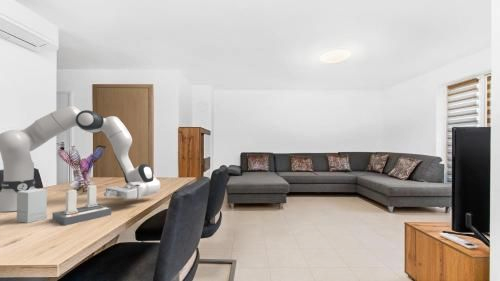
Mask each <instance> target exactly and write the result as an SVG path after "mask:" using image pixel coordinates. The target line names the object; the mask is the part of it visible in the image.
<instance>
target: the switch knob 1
mask: <svg viewBox="0 0 500 281" xmlns="http://www.w3.org/2000/svg"><path fill="white" fill-rule="evenodd" d="M77 192H78V191H77V190H76V189H72V190H71V189H70V190H65V210H66V211H64V210H63V211H64V214H72V213H77V212H78V210H76V208H77V199H78V198H77V197H78V195H77Z"/></svg>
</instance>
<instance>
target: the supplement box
mask: <svg viewBox="0 0 500 281" xmlns="http://www.w3.org/2000/svg"><path fill="white" fill-rule="evenodd" d="M47 204H48V189H43V188H42V189H40V188H37V189H31V190H25V191H19V192H17V211H16V222H18V223H19V222H20V223H26V224H28V223H29V224H30V223H33V222H37V221H40V220H43V219H44V220H45V219H47V216H48V215H47V213H48V210H47V207H48V205H47Z"/></svg>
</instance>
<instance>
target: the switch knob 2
mask: <svg viewBox="0 0 500 281" xmlns="http://www.w3.org/2000/svg"><path fill="white" fill-rule="evenodd" d="M97 189H98V188H97V185H95V184H94V185H87V188H86V204H85V206H86V207H93V206H97V204H98V203H97Z"/></svg>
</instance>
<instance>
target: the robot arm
mask: <svg viewBox="0 0 500 281" xmlns="http://www.w3.org/2000/svg"><path fill="white" fill-rule="evenodd" d="M74 127H79V128H80V129H81V130H83V131H85V132H86V133H92V134H98V133H101V132H103V134H105V136H106V138H107V139H108V141H109V143H110V145H111V147H112V149H113V153H114V156H115V159H116V161H117V163H118V165H119V167H120V169H121V172H122V173H123V177H124V182H125V183H126V184H125V185H124V186H122V185H114V186H107V187H106V188H105V191H104V192H103V196H104V197H117V198H121V199H124V200H133V199H136V200H137V199H141V198H142V197H148V196H152V195H155V194H157V193H158V192H159V191H160V189H161V181H160V180H159V179H158V178H157V177H156V176H155V174H154V171H153V168H152V167H151V166H150V165H149V164H147V163H142V164H140V165H138V166H136V167H135V168H134V166H133V164H132V163H133V162H132V161H131V159H130V156H129V151H130V148H131V146H132V144H133V138H132V135H131V133H130V132H129V130H128V128H127V127H126V126H125V124H124V123H123V122H122V121H121V119H120V118H119V117H118V116H116V115H115V116H113V115H112V116H111V115H110V116H107V117H103V115H100V114H99V113H98V112H95V111H92V110H88V109H87V110H86V109H85V110H81V109H79V108H78V107H76V106H73V105H68V106H65V107H62V108H60V109H57V110H55V111H52V112H50V113H48V114H46V115H44V116H41V117H40V118H38V119H36V120H35V121H34V122H33V123H31V124H30V125H29V126H27V127H26V128H24V129H21V130H14V129H13V130H12V129H11V130H7V131H4V132H1V133H0V156H1V160H2V163H3V164H2V165H3V180H2V181H1V190H0V212H3V213H4V212H5V213H6V212H17V192H19V191H25V190H31V189H38V188H36V187H35V184H36V179H35V178H34V176H35V163H34V161H33V159H32V156H31V155H32V154H31V152H33V151H34V150H36V149H38V148H39V147H40V146H43V145H44V144H45V143H47V142H48V141H50V140H52V139H53V138H54V137H56V136H58V135H60V134H62V133H64V132H66V131H68V130H70V129H71V128H74Z"/></svg>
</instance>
